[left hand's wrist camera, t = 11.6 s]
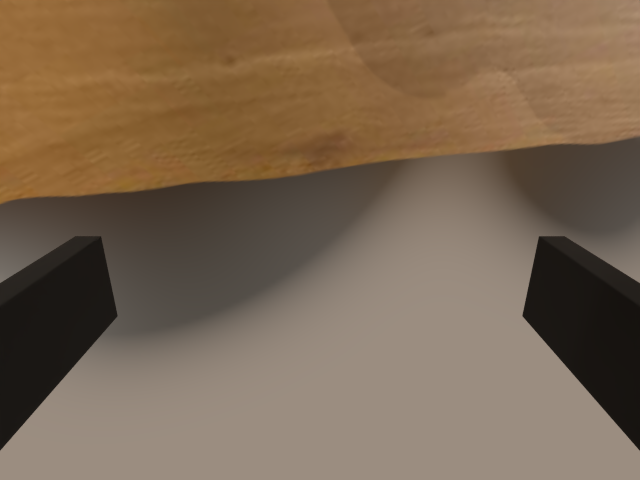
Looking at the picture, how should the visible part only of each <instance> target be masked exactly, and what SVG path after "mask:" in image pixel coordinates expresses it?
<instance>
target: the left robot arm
mask: <svg viewBox="0 0 640 480" xmlns="http://www.w3.org/2000/svg"><path fill="white" fill-rule="evenodd" d="M116 317H117V311H116V306H115V302H114V297H113V292H112V287H111V283H110V278H109V273H108V268H107V263H106V259H105V254H104V249H103V244H102V239H101V236H75V237H74V238H72V239H70V240H69V241H67V242H66V243H64V244H62V245H61V246H59V247H58V248H56V249H54V250H53V251H51V252H50V253H48V254H46V255H45V256H43V257H42V258H40V259H38V260H37V261H35V262H33V263H32V264H30V265H29V266H27V267H26V268H24V269H22V270H21V271H19V272H17V273H16V274H14V275H13V276H11V277H9V278H8V279H6V280H5V281H3V282H1V283H0V450H1V449H2V448H3V447H4V446H5V444H6V443H7V442H8V441H9V440H10V439H11V438H12V436H13V435H14V434H15V433H16V432H17V431H18V430H19V428H20V427H21V426H22V425H23V424H24V423H25V421H26V420H27V419H28V418H29V417H30V416H31V415H32V413H33V412H34V411H35V410H36V409H37V408H38V407H39V405H40V404H41V403H42V402H43V401H44V400H45V399H46V397H47V396H48V395H49V394H50V393H51V392H52V391H53V389H54V388H55V387H56V386H57V385H58V384H59V383H60V381H61V380H62V379H63V378H64V377H65V376H66V375H67V373H68V372H69V371H70V370H71V369H72V368H73V367H74V365H75V364H76V363H77V362H78V361H79V360H80V358H81V357H82V356H83V355H84V354H85V353H86V352H87V350H88V349H89V348H90V347H91V346H92V345H93V344H94V342H95V341H96V340H97V339H98V338H99V337H100V336H101V334H102V333H103V332H104V331H105V330H106V329H107V328H108V326H109V325H110V324H111V323H112V322H113V321H114V320H115V318H116ZM523 317H524V318H525V319H526V321H527V322H528V323H529V324H530V325H531V326H532V328H533V329H534V330H535V331H536V332H537V333H538V334H539V336H540V337H541V338H542V339H543V340H544V341H545V342H546V344H547V345H548V346H549V347H550V348H551V349H552V350H553V352H554V353H555V354H556V355H557V356H558V357H559V358H560V360H561V361H562V362H563V363H564V364H565V365H566V367H567V368H568V369H569V370H570V371H571V372H572V373H573V375H574V376H575V377H576V378H577V379H578V380H579V381H580V383H581V384H582V385H583V386H584V387H585V388H586V389H587V391H588V392H589V393H590V394H591V395H592V396H593V397H594V399H595V400H596V401H597V402H598V403H599V404H600V405H601V407H602V408H603V409H604V410H605V411H606V412H607V413H608V415H609V416H610V417H611V418H612V419H613V420H614V422H615V423H616V424H617V425H618V426H619V427H620V428H621V429H622V431H623V432H624V433H625V434H626V435H627V436H628V438H629V439H630V440H631V441H632V442H633V443H634V444H635V446H636V447H637V448H638V449H639V450H640V283H639V282H637V281H635V280H634V279H632V278H631V277H629V276H627V275H626V274H624V273H623V272H621V271H619V270H618V269H616V268H615V267H613V266H611V265H610V264H608V263H606V262H605V261H603V260H602V259H600V258H598V257H597V256H595V255H594V254H592V253H590V252H589V251H587V250H586V249H584V248H582V247H581V246H579V245H578V244H576V243H574V242H573V241H571V240H570V239H568V238H566V237H565V236H540V237H539V239H538V244H537V249H536V254H535V258H534V263H533V268H532V273H531V278H530V282H529V287H528V292H527V297H526V301H525V306H524V311H523Z"/></svg>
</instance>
